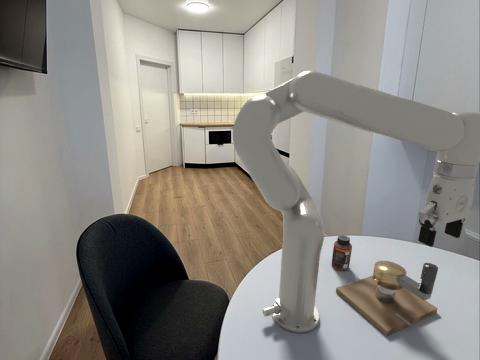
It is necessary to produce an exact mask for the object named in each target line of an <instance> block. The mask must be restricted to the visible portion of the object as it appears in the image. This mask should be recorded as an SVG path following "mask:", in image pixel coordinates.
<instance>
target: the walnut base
mask: <svg viewBox="0 0 480 360" xmlns="http://www.w3.org/2000/svg"><path fill="white" fill-rule="evenodd" d="M376 288H377V285H376V284H375V283H374V280H373V275H371V276H370V275H369V276H368V277H365V278H361V279H359V280H356V281H353V282H349V283H346V284H343V285H340V286H338V287H336V290H335V293H336V294H338V295H339V296H340V297H341V298H342V299H343V300H344V301H345V302H347V303H348V304H349V305H350V306H352V307H353V308H354V309H355V310H356V311H357V312H358V313H360V315H362V317H364V318H365V319H366V321H368V322H369V323H371V324H372V325H373V326H374V327H375V328H376V329H378V330H379V332H381V333H382V335H384V336H386V337H388V336H389V335H391V334H394V333H395V332H398V331H400V330H401V329H404V328H406V327H409V326H411V325H412V324H415V323H418V322H420V321H421V320H423V319H425V318H428V317H431V316H433V315H434V314H436V313H437V312H438V307H436V306H435V305H434V304H432V303H430V302H429V301H427V300H425V301H424V300H422V299H421V298H419V297H418V296H416V295H414V294H413V293H411V292H410V291H408V290H407V289H405V288H404V287H403V288H402V289H400V290H396V295H395V299H394V302H393V303H391V304H387V303H383V302H381V301H379V300H378V299H377V298H376V296H375V293H376Z"/></svg>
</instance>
